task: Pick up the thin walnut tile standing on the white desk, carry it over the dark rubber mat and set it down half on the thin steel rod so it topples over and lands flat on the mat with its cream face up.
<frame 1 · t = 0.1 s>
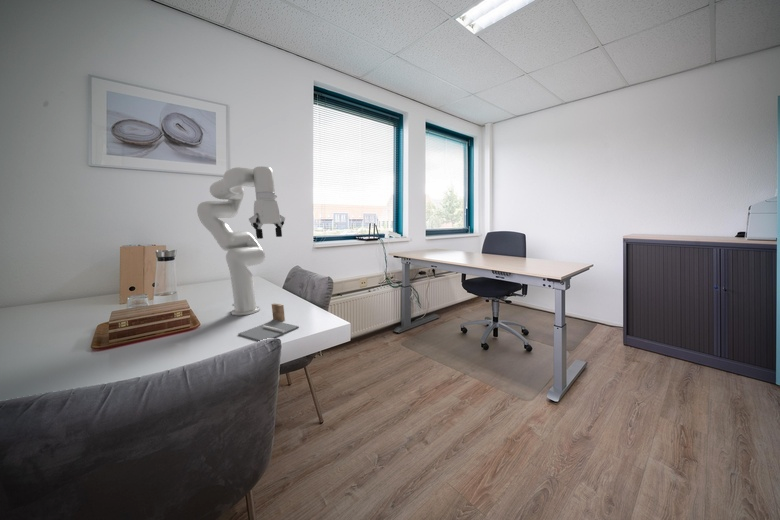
hand: (269, 237, 127), 36 cm above the table, fingers open, 9 cm apart
tile: (279, 319, 130), on the table
mat: (269, 331, 117), on the table
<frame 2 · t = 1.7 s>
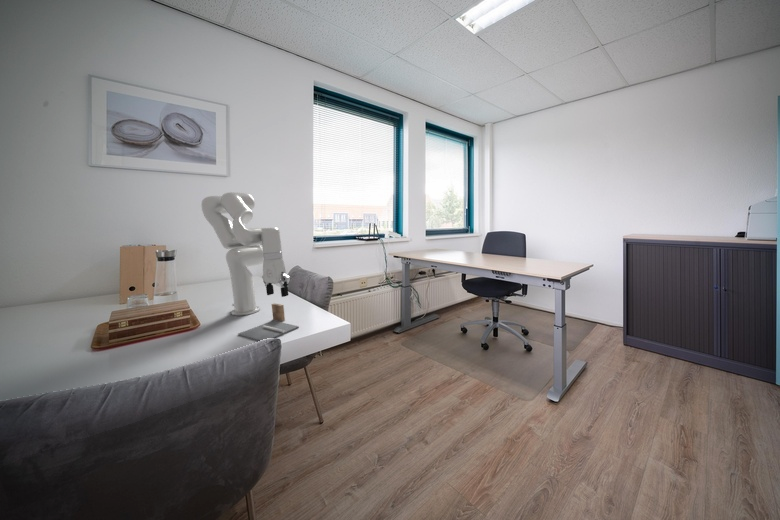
hand: (277, 295, 128), 11 cm above the table, fingers open, 9 cm apart
nothing on the table moved.
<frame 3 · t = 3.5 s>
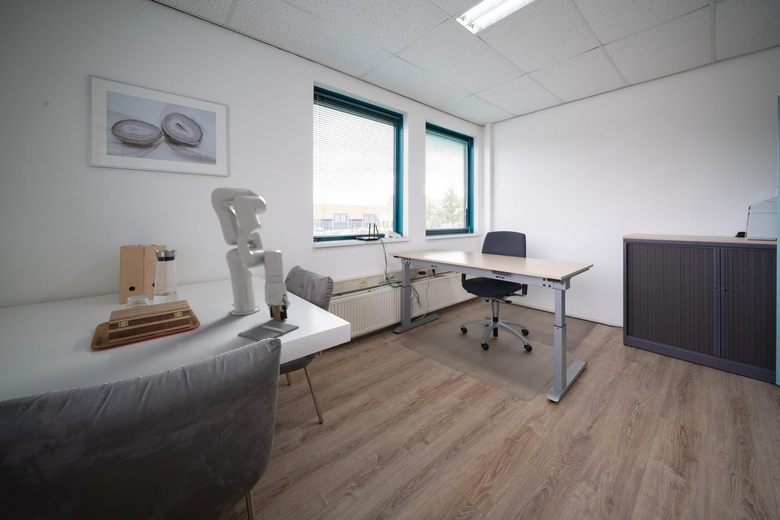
hand: (278, 317, 130), 1 cm above the table, fingers closed on tile, 6 cm apart
tile: (279, 319, 130), on the table, touching gripper
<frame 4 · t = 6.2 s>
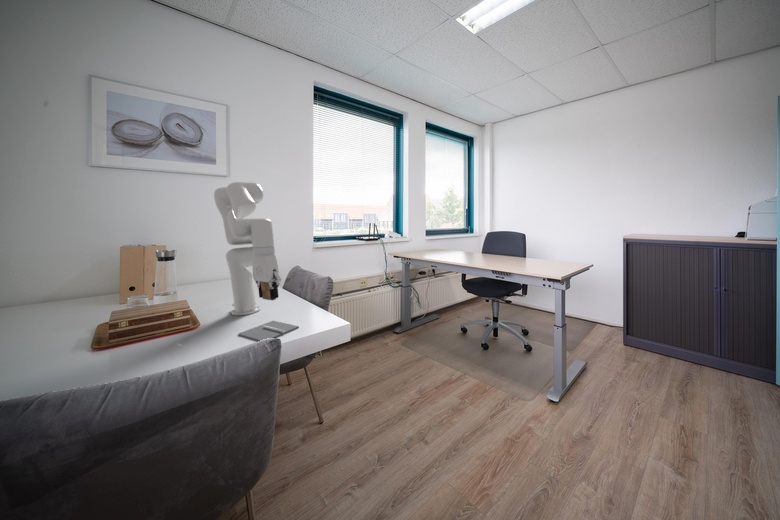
hand: (268, 297, 114), 14 cm above the table, fingers closed on tile, 6 cm apart
tile: (269, 299, 114), point 13 cm above the table, touching gripper
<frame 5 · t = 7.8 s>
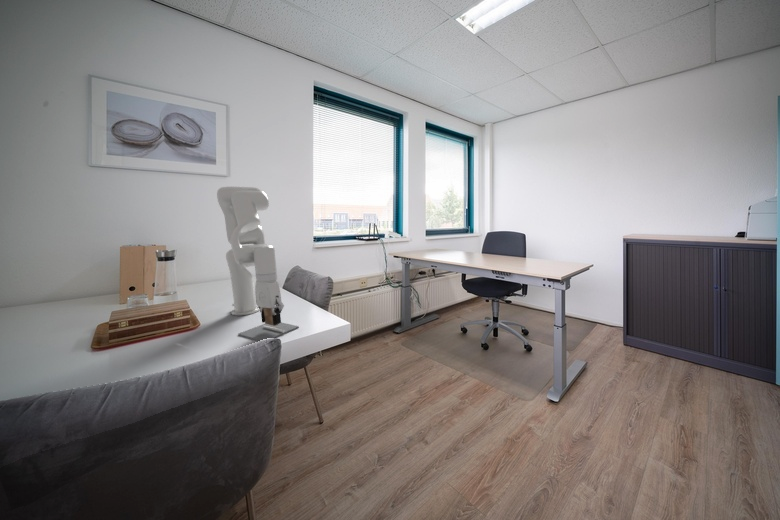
hand: (271, 322, 115), 4 cm above the table, fingers closed on tile, 6 cm apart
tile: (271, 324, 115), point 3 cm above the table, touching gripper
when the fingers open (3 cm above the table, at t = 8.9 s): tile drops 1 cm and tips over, resting on mat.
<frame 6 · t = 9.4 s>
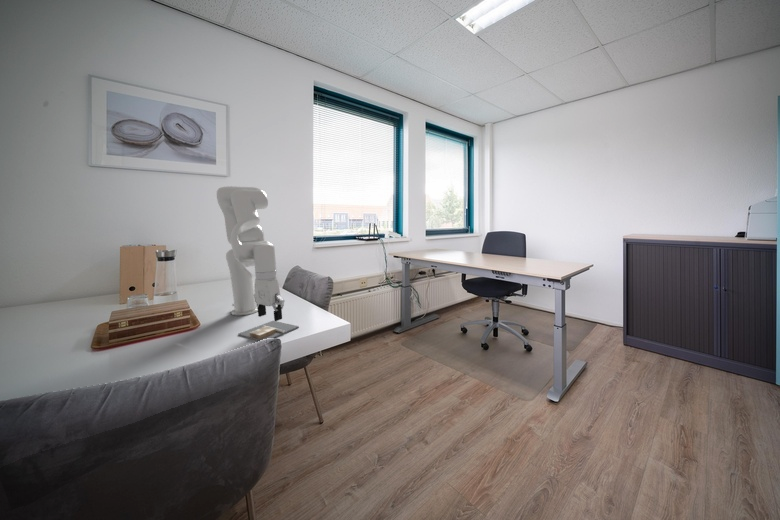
hand: (270, 317, 116), 6 cm above the table, fingers open, 9 cm apart
tile: (270, 329, 115), point 1 cm above the table, tilted 90°, touching mat
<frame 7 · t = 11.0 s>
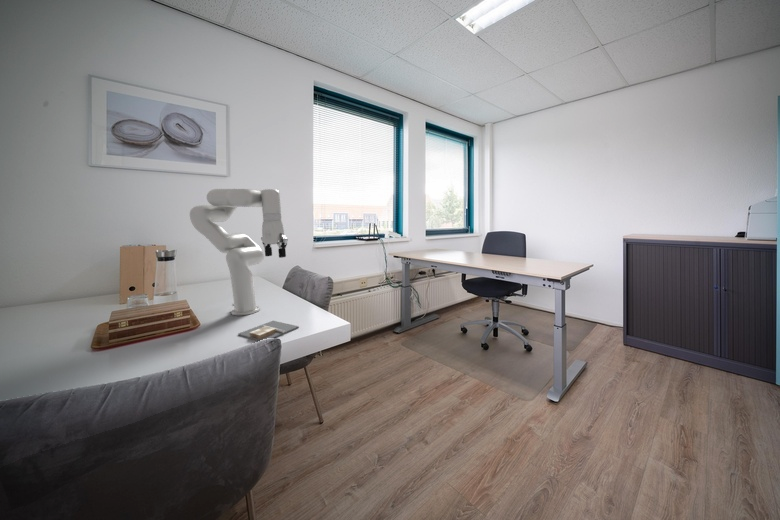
hand: (275, 256, 132), 28 cm above the table, fingers open, 9 cm apart
nothing on the table moved.
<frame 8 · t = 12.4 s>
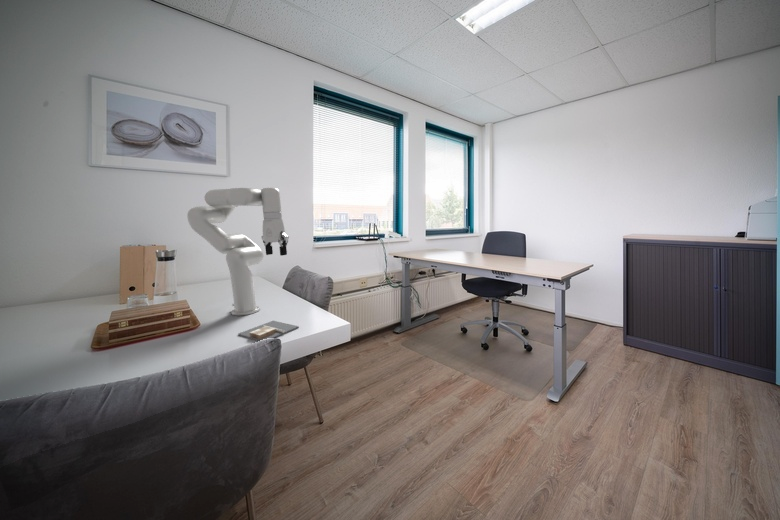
hand: (276, 254, 133), 28 cm above the table, fingers open, 9 cm apart
nothing on the table moved.
at the end: tile tilted 90°; tile inside the target area (2.1 cm from its centre), point 1.4 cm above the table; the gripper is holding nothing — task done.
